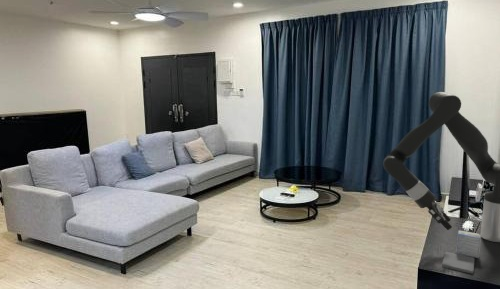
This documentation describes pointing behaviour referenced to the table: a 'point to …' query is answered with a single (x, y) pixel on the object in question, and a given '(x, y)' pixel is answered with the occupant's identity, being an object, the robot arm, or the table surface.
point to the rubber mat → (458, 262)
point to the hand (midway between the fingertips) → (449, 224)
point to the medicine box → (468, 244)
